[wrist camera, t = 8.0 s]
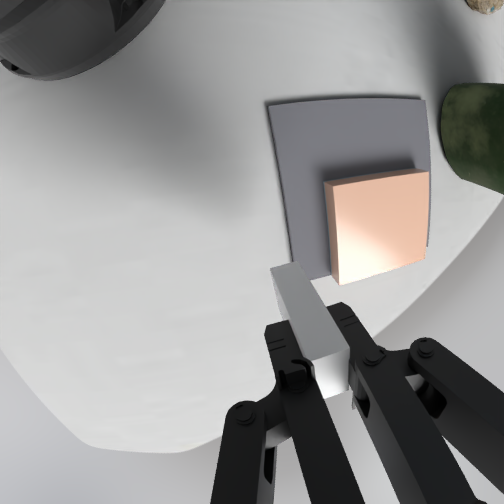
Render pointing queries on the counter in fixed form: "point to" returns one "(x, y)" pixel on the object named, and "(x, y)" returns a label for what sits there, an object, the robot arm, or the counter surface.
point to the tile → (376, 222)
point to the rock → (485, 5)
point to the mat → (340, 159)
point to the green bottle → (475, 133)
